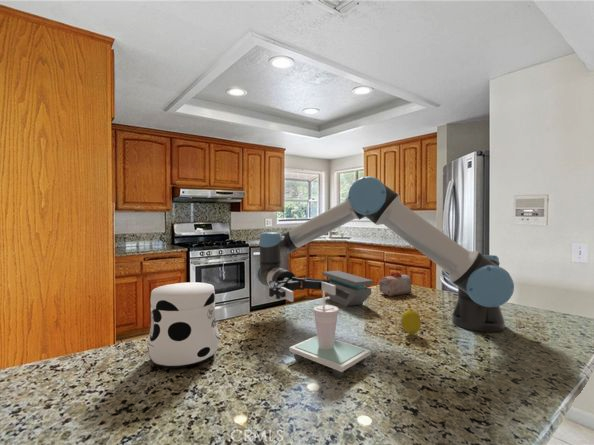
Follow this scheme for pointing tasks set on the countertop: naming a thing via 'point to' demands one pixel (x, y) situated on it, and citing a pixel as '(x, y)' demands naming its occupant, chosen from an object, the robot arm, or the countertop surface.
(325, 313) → the smoothie
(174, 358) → the milk container
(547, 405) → the countertop surface
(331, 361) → the tray
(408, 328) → the lemon
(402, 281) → the grey boxy piece
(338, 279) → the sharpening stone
